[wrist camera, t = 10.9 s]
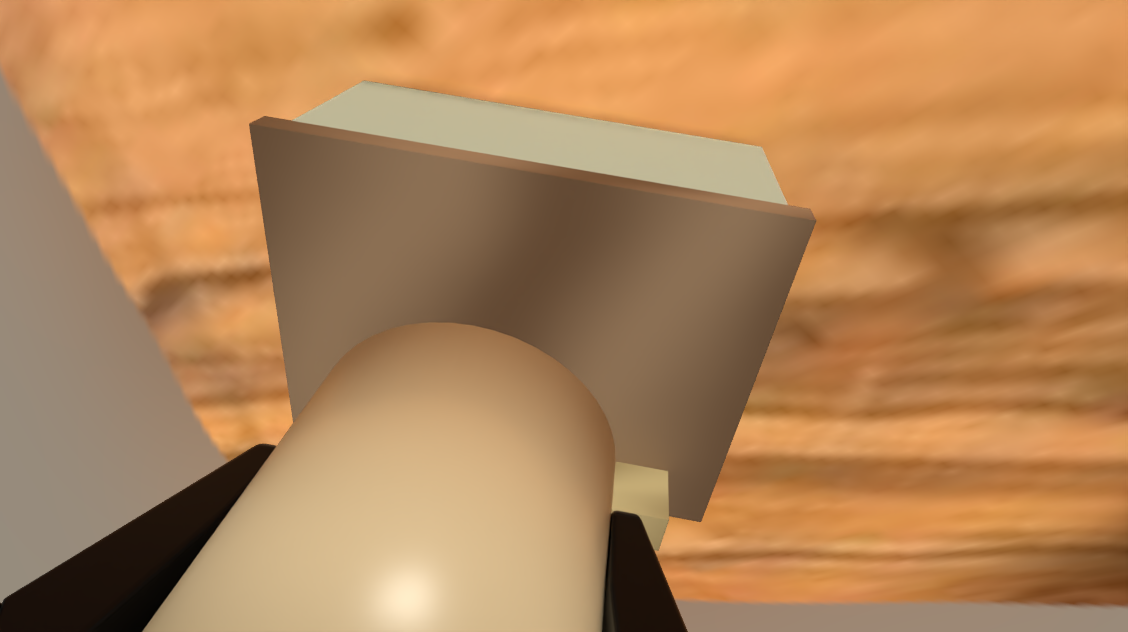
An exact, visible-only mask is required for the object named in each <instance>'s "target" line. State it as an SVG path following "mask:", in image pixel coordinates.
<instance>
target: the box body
mask: <svg viewBox="0 0 1128 632" xmlns="http://www.w3.org/2000/svg"><path fill="white" fill-rule="evenodd" d="M292 121H296V122H302V123H308V124H314V125H320V126H326V127H332V128H338V129H344V130H349V131H355V132H361V133H367V134H373V135H379V136H385V137H391V138H396V139H402V140H408V141H414V142H420V143H426V144H432V145H438V146H443V147H449V148H455V149H461V150H467V151H473V152H479V153H485V154H491V155H496V156H502V157H508V158H514V159H520V160H526V161H532V162H538V163H543V164H549V165H555V166H561V167H567V168H573V169H579V170H585V171H591V172H596V173H602V174H608V175H614V176H620V177H626V178H632V179H638V180H643V181H649V182H655V183H661V184H667V185H673V186H679V187H685V188H690V189H696V190H702V191H708V192H714V193H720V194H726V195H732V196H738V197H743V198H749V199H755V200H761V201H767V202H773V203H779V204H785V205H788V204H787V202H786V200H785V197H784V195H783V193H782V191H781V189H780V186H779V184H778V182H777V180H776V178H775V175H774V173H773V171H772V169H771V166H770V164H769V162H768V160H767V158H766V155H765V153H764V151H763V149H762V147H759V146H753V145H747V144H741V143H735V142H729V141H723V140H717V139H711V138H705V137H699V136H693V135H687V134H681V133H675V132H669V131H663V130H657V129H651V128H645V127H639V126H633V125H627V124H621V123H615V122H609V121H603V120H597V119H591V118H585V117H579V116H573V115H567V114H561V113H555V112H549V111H543V110H537V109H531V108H525V107H519V106H513V105H507V104H501V103H495V102H489V101H483V100H477V99H471V98H465V97H459V96H453V95H447V94H441V93H435V92H429V91H423V90H417V89H411V88H405V87H399V86H393V85H388V84H382V83H376V82H370V81H362V82H361V83H359V84H357V85H355V86H353V87H352V88H350V89H348V90H346V91H344V92H343V93H341V94H339V95H337V96H335V97H334V98H332V99H330V100H328V101H326V102H325V103H323V104H321V105H319V106H317V107H316V108H314V109H312V110H310V111H308V112H307V113H305V114H303V115H301V116H299V117H297V118H296V119H294V120H292Z"/></svg>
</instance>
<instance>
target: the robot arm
mask: <svg viewBox="0 0 1128 632" xmlns="http://www.w3.org/2000/svg"><path fill="white" fill-rule="evenodd" d="M275 448H276V446H275V445H270V444H259V445H256V446H254V447H252V448H251V449H249V450H247V451H246V452H244V453H242V454H241V455H239V456H237V457H236V458H234V459H233V460H231V461H229V462H228V463H226V464H224V465H223V466H221V467H219V468H218V469H216V470H215V471H213V472H211V473H210V474H208V475H206V476H205V477H203V478H201V479H200V480H198V481H196V482H195V483H193V484H191V485H190V486H189V487H187V488H185V489H183V490H182V491H180V492H179V493H177V494H175V495H173V496H172V497H170V498H169V499H167V500H165V501H164V502H162V503H160V504H159V505H157V506H155V507H154V508H152V509H151V510H149V511H147V512H146V513H144V514H142V515H141V516H139V517H137V518H136V519H134V520H132V521H131V522H129V523H128V524H126V525H124V526H123V527H121V528H119V529H118V530H116V531H114V532H113V533H111V534H109V535H108V536H106V537H104V538H103V539H101V540H100V541H98V542H96V543H95V544H93V545H92V546H90V547H88V548H86V549H85V550H83V551H82V552H80V553H78V554H77V555H75V556H73V557H72V558H70V559H68V560H67V561H65V562H63V563H62V564H60V565H59V566H57V567H55V568H54V569H52V570H50V571H49V572H47V573H45V574H44V575H42V576H40V577H39V578H38V579H36V580H34V581H32V582H31V583H29V584H28V585H26V586H24V587H22V588H21V589H19V590H18V591H16V592H14V593H13V594H11V595H9V596H8V597H6V598H5V599H4V600H3V602H2V603H0V632H142V631H143V630H144V628H145V627H146V626H147V624H148V623H149V622H150V620H151V619H152V617H153V616H154V615H155V613H156V612H157V610H158V609H159V608H160V606H161V605H162V604H163V602H164V601H165V599H166V598H167V597H168V595H169V594H170V593H171V591H172V590H173V588H174V587H175V586H176V584H177V583H178V582H179V580H180V579H181V577H182V576H183V575H184V573H185V572H186V570H187V569H188V568H189V566H190V565H191V564H192V562H193V561H194V559H195V558H196V557H197V555H198V554H199V553H200V551H201V550H202V548H203V547H204V546H205V544H206V543H207V541H208V540H209V539H210V537H211V536H212V535H213V533H214V532H215V530H216V529H217V528H218V526H219V525H220V524H221V522H222V521H223V519H224V518H225V517H226V515H227V514H228V512H229V511H230V510H231V508H232V507H233V506H234V504H235V503H236V501H237V500H238V499H239V497H240V496H241V495H242V493H243V492H244V490H245V489H246V488H247V486H248V485H249V483H250V482H251V481H252V479H253V478H254V477H255V475H256V474H257V472H258V471H259V470H260V468H261V467H262V466H263V464H264V463H265V461H266V460H267V459H268V457H269V456H270V454H271V453H272V452H273V450H274V449H275ZM602 632H688V631H687V629H686V626H685V624H684V622H683V619H682V617H681V614H680V612H679V609H678V607H677V605H676V602H675V600H674V597H673V595H672V592H671V590H670V588H669V585H668V583H667V580H666V578H665V575H664V573H663V571H662V568H661V566H660V563H659V561H658V558H657V556H656V554H655V551H654V549H653V546H652V544H651V541H650V539H649V537H648V534H647V532H646V529H645V527H644V525H643V522H642V520H641V518H640V517H639V516H638V515H637V514H634V513H628V512H623V511H618V510H617V511H613V512H612V514H611V524H610V537H609V549H608V562H607V574H606V586H605V601H604V613H603V626H602Z"/></svg>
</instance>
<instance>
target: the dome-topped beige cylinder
mask: <svg viewBox="0 0 1128 632" xmlns="http://www.w3.org/2000/svg"><path fill="white" fill-rule="evenodd" d="M615 463H616V458H615V444H614V439H613V435H612V431H611V428H610V426H609V423H608V420H607V418H606V416H605V414H604V412H603V410H602V409H601V407H600V405H599V404H598V402H597V400H596V399H595V398H594V396H593V395H592V394H591V393H590V391H589V390H588V389H587V387H586V386H585V385H584V384H583V383H582V382H581V381H580V380H579V379H578V378H577V377H576V376H575V375H574V374H573V373H572V372H571V371H569V370H568V369H567V368H566V367H564V366H563V365H562V364H560V363H559V362H558V361H557V360H555V359H554V358H552V357H551V356H549V355H547V354H546V353H544V352H542V351H541V350H539V349H538V348H536V347H534V346H532V345H530V344H527V343H525V342H523V341H521V340H519V339H517V338H514V337H512V336H509V335H506V334H503V333H500V332H497V331H494V330H490V329H486V328H482V327H477V326H473V325H465V324H457V323H437V322H428V323H419V324H409V325H405V326H400V327H396V328H392V329H388V330H386V331H383V332H381V333H378V334H375V335H373V336H371V337H369V338H367V339H366V340H364V341H362V342H360V343H359V344H357V345H356V346H354V347H353V348H352V349H351V350H350V351H348V352H347V353H346V354H345V355H344V356H343V357H342V358H341V359H340V360H339V362H338V363H337V364H336V365H335V366H334V367H333V369H332V370H331V372H330V373H329V374H328V376H327V377H326V379H325V380H324V381H323V383H322V384H321V385H320V387H319V388H318V390H317V391H316V392H315V394H314V395H313V396H312V398H311V399H310V401H309V402H308V403H307V405H306V406H305V408H304V409H303V410H302V412H301V413H300V414H299V416H298V417H297V419H296V420H295V421H294V423H293V424H292V425H291V427H290V428H289V430H288V431H287V432H286V434H285V435H284V437H283V438H282V439H281V441H280V442H279V443H278V445H277V446H276V448H275V449H274V450H273V452H272V453H271V454H270V456H269V457H268V459H267V460H266V461H265V463H264V464H263V466H262V467H261V468H260V470H259V471H258V472H257V474H256V475H255V477H254V478H253V479H252V481H251V482H250V483H249V485H248V486H247V488H246V489H245V490H244V492H243V493H242V495H241V496H240V497H239V499H238V500H237V501H236V503H235V504H234V506H233V507H232V508H231V510H230V511H229V512H228V514H227V515H226V517H225V518H224V519H223V521H222V522H221V524H220V525H219V526H218V528H217V529H216V530H215V532H214V533H213V535H212V536H211V537H210V539H209V540H208V541H207V543H206V544H205V546H204V547H203V548H202V550H201V551H200V553H199V554H198V555H197V557H196V558H195V559H194V561H193V562H192V564H191V565H190V566H189V568H188V569H187V570H186V572H185V573H184V575H183V576H182V577H181V579H180V580H179V582H178V583H177V584H176V586H175V587H174V588H173V590H172V591H171V593H170V594H169V595H168V597H167V598H166V599H165V601H164V602H163V604H162V605H161V606H160V608H159V609H158V610H157V612H156V613H155V615H154V616H153V617H152V619H151V620H150V622H149V623H148V624H147V626H146V627H145V628H144V630H143V631H142V632H602V626H603V613H604V601H605V586H606V574H607V562H608V549H609V537H610V524H611V513H612V501H613V488H614V476H615Z"/></svg>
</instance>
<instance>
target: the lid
mask: <svg viewBox="0 0 1128 632" xmlns="http://www.w3.org/2000/svg"><path fill="white" fill-rule="evenodd" d="M249 127H250V133H251V140H252V147H253V154H254V160H255V167H256V174H257V181H258V187H259V194H260V201H261V208H262V214H263V221H264V228H265V235H266V241H267V248H268V255H269V262H270V268H271V275H272V282H273V289H274V295H275V302H276V309H277V316H278V322H279V329H280V336H281V343H282V349H283V356H284V363H285V370H286V376H287V383H288V390H289V397H290V403H291V410H292V417H293V423H294V421H295V420H296V419H297V417H298V416H299V414H300V413H301V412H302V410H303V409H304V408H305V406H306V405H307V403H308V402H309V401H310V399H311V398H312V396H313V395H314V394H315V392H316V391H317V390H318V388H319V387H320V385H321V384H322V383H323V381H324V380H325V379H326V377H327V376H328V374H329V373H330V372H331V370H332V369H333V367H334V366H335V365H336V364H337V363H338V362H339V360H340V359H341V358H342V357H343V356H344V355H345V354H346V353H347V352H348V351H350V350H351V349H352V348H353V347H354V346H356V345H357V344H359V343H360V342H362V341H364V340H366V339H367V338H369V337H371V336H373V335H375V334H378V333H381V332H383V331H386V330H388V329H392V328H396V327H400V326H405V325H409V324H419V323H428V322H437V323H457V324H465V325H473V326H477V327H482V328H486V329H490V330H494V331H497V332H500V333H503V334H506V335H509V336H512V337H514V338H517V339H519V340H521V341H523V342H525V343H527V344H530V345H532V346H534V347H536V348H538V349H539V350H541V351H542V352H544V353H546V354H547V355H549V356H551V357H552V358H554V359H555V360H557V361H558V362H559V363H560V364H562V365H563V366H564V367H566V368H567V369H568V370H569V371H571V372H572V373H573V374H574V375H575V376H576V377H577V378H578V379H579V380H580V381H581V382H582V383H583V384H584V385H585V386H586V387H587V389H588V390H589V391H590V393H591V394H592V395H593V396H594V398H595V399H596V400H597V402H598V404H599V405H600V407H601V409H602V410H603V412H604V414H605V416H606V418H607V420H608V423H609V426H610V428H611V431H612V435H613V439H614V444H615V458H616V463H615V476H614V488H613V501H612V512H613V511H617V510H618V511H623V512H628V513H634V514H637V515H638V516H639V517H640V518H641V520H642V522H643V525H644V527H645V529H646V532H647V534H648V537H649V539H650V541H651V544H652V546H653V549H654V550H656V551H659V548H660V545H661V542H662V539H663V536H664V533H665V530H666V527H667V524H668V521H669V516H671V517H676V518H681V519H687V520H692V521H697V522H701V521H702V518H703V515H704V513H705V510H706V508H707V505H708V502H709V500H710V497H711V495H712V492H713V489H714V487H715V484H716V482H717V479H718V476H719V474H720V471H721V468H722V466H723V463H724V461H725V458H726V455H727V453H728V450H729V448H730V445H731V442H732V440H733V437H734V434H735V432H736V429H737V427H738V424H739V421H740V419H741V416H742V414H743V411H744V408H745V406H746V403H747V401H748V398H749V395H750V393H751V390H752V387H753V385H754V382H755V380H756V377H757V374H758V372H759V369H760V367H761V364H762V361H763V359H764V356H765V353H766V351H767V348H768V346H769V343H770V340H771V338H772V335H773V333H774V330H775V327H776V325H777V322H778V320H779V317H780V314H781V312H782V309H783V306H784V304H785V301H786V299H787V296H788V293H789V291H790V288H791V286H792V283H793V280H794V278H795V275H796V272H797V270H798V267H799V265H800V262H801V259H802V257H803V254H804V252H805V249H806V246H807V244H808V241H809V239H810V236H811V233H812V231H813V228H814V225H815V223H816V219H815V217H814V215H813V213H812V211H811V210H810V209H808V208H802V207H796V206H790V205H785V204H779V203H773V202H767V201H761V200H755V199H749V198H743V197H738V196H732V195H726V194H720V193H714V192H708V191H702V190H696V189H690V188H685V187H679V186H673V185H667V184H661V183H655V182H649V181H643V180H638V179H632V178H626V177H620V176H614V175H608V174H602V173H596V172H591V171H585V170H579V169H573V168H567V167H561V166H555V165H549V164H543V163H538V162H532V161H526V160H520V159H514V158H508V157H502V156H496V155H491V154H485V153H479V152H473V151H467V150H461V149H455V148H449V147H443V146H438V145H432V144H426V143H420V142H414V141H408V140H402V139H396V138H391V137H385V136H379V135H373V134H367V133H361V132H355V131H349V130H344V129H338V128H332V127H326V126H320V125H314V124H308V123H302V122H296V121H291V120H285V119H279V118H273V117H267V116H264V117H262V118H260V119H258V120H256V121H254V122H252V123H250V124H249ZM611 514H612V513H611Z"/></svg>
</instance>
